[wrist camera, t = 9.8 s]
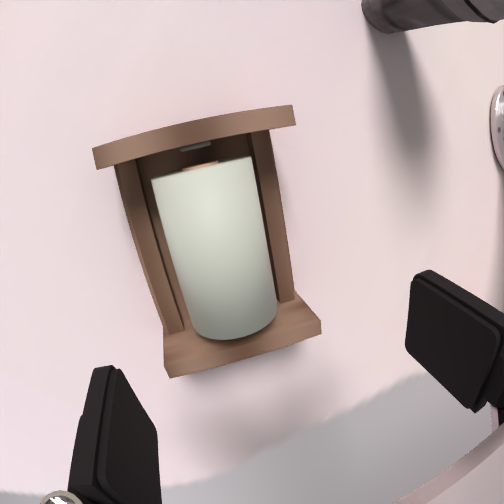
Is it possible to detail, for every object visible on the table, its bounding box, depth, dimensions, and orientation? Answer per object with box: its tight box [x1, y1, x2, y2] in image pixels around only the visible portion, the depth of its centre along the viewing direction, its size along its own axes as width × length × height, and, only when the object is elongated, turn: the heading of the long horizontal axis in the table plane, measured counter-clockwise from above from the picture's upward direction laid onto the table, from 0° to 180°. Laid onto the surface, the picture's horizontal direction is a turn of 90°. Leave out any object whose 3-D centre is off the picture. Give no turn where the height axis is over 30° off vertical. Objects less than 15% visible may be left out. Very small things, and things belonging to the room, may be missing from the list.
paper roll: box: [151, 156, 278, 340], centre depth 19 cm, size 10×6×6 cm, turn 11°
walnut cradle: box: [92, 105, 322, 378], centre depth 20 cm, size 11×15×6 cm
